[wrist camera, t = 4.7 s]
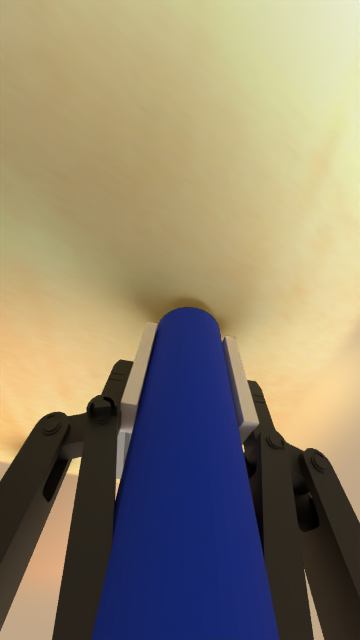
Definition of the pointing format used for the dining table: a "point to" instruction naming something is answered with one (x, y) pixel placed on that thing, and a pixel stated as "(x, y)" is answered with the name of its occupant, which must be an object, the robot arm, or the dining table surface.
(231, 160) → the dining table surface
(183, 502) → the beverage can
